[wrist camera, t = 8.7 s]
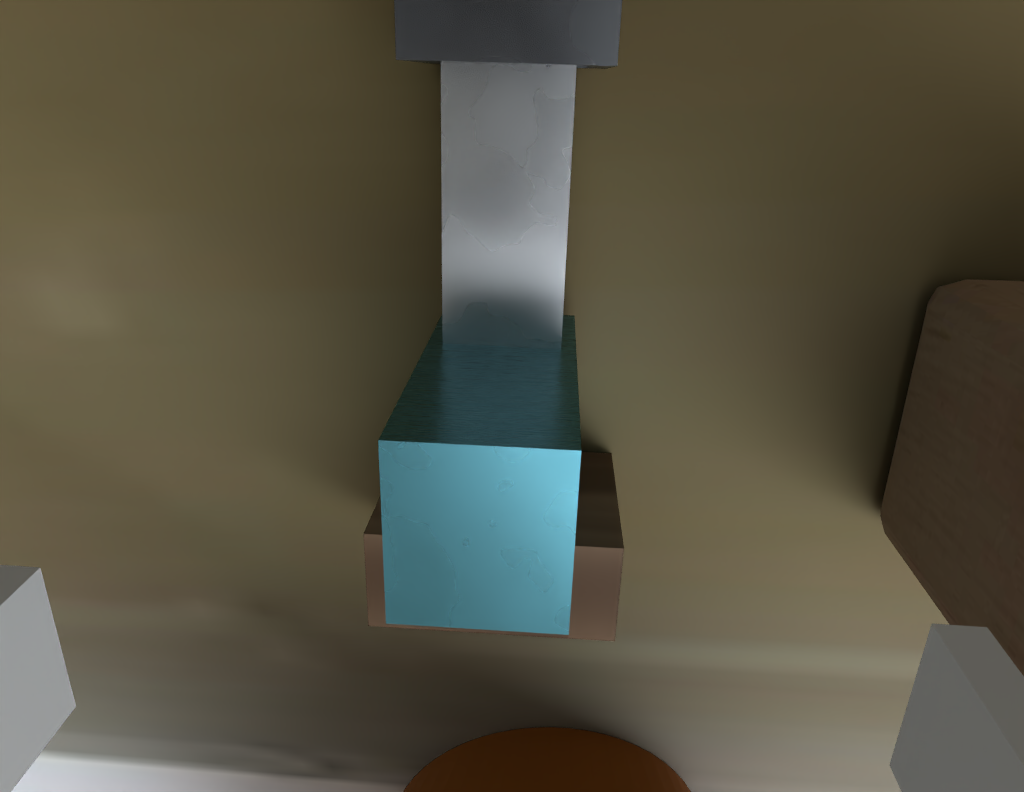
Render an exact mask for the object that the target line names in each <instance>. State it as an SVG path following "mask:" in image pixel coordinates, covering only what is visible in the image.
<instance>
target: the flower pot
mask: <svg viewBox="0 0 1024 792" xmlns="http://www.w3.org/2000/svg"><path fill="white" fill-rule="evenodd" d="M404 792H691V791H690V790H689V788H688V787H687V785H686V784H685V782H684V781H683V780H682V779H681V778H680V777H679V776H678V774H677V773H676V772H675V771H674V770H673V769H671V768H670V767H669V766H668V765H667V764H666V763H664V762H663V761H662V760H660V759H659V758H657V757H656V756H654V755H653V754H651V753H650V752H648V751H646V750H644V749H642V748H640V747H638V746H636V745H634V744H631V743H629V742H626V741H624V740H621V739H618V738H615V737H612V736H609V735H605V734H601V733H596V732H592V731H587V730H579V729H572V728H557V727H539V728H524V729H515V730H509V731H504V732H499V733H494V734H491V735H487V736H483V737H480V738H477V739H474V740H471V741H469V742H466V743H463V744H461V745H459V746H457V747H455V748H453V749H451V750H449V751H447V752H446V753H444V754H442V755H441V756H439V757H437V758H436V759H434V760H433V761H432V762H430V763H429V764H428V765H427V766H425V767H424V768H423V769H422V770H421V771H420V772H419V773H418V774H417V775H416V776H415V777H414V778H413V779H412V780H411V782H410V783H409V784H408V786H407V787H406V788H405V790H404Z"/></svg>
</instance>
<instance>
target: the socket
mask: <svg viewBox="0 0 1024 792" xmlns="http://www.w3.org/2000/svg"><path fill="white" fill-rule="evenodd" d="M364 550H365V569H366V589H367V608H368V626H377V627H393V628H409V629H425V630H441V631H457V632H474V633H490V634H506V635H522V636H538V637H554V638H570V639H586V640H602V641H615V635H616V624H617V614H618V604H619V593H620V583H621V573H622V562H623V552H624V546H623V538H622V531H621V523H620V516H619V508H618V500H617V493H616V485H615V478H614V470H613V463H612V455H611V453H594V452H581V463H580V478H579V492H578V507H577V521H576V536H575V550H574V565H573V580H572V594H571V609H570V623H569V635H563V634H547V633H531V632H515V631H499V630H482V629H466V628H450V627H434V626H418V625H402V624H386V615H385V591H384V566H383V542H382V518H381V495H380V498H379V500H378V502H377V504H376V507H375V509H374V511H373V514H372V516H371V518H370V520H369V523H368V525H367V527H366V530H365V532H364Z"/></svg>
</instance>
